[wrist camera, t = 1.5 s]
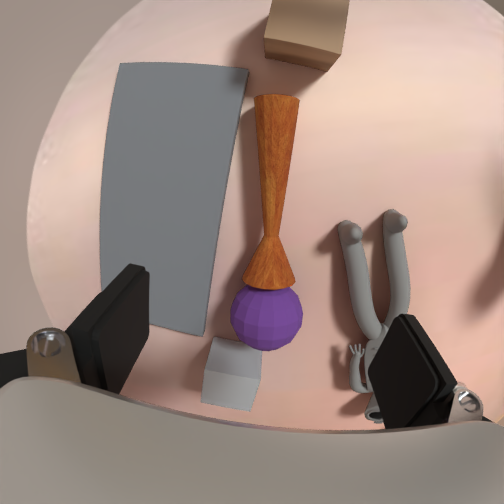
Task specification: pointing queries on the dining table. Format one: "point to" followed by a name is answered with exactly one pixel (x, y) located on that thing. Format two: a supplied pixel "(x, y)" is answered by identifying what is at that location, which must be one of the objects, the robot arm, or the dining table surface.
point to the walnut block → (306, 32)
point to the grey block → (231, 374)
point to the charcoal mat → (169, 181)
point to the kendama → (270, 236)
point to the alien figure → (363, 298)
